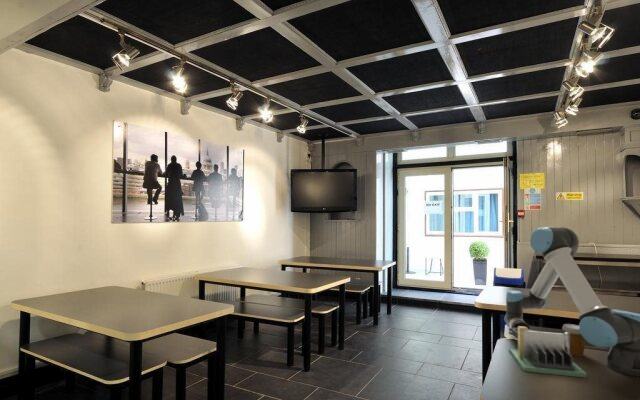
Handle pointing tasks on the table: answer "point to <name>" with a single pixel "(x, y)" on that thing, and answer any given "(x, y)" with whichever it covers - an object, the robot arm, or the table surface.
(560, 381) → the table surface
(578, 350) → the disposable coffee cup
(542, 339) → the grey flat slab
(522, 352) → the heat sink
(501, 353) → the table surface
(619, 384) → the table surface
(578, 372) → the motherboard
